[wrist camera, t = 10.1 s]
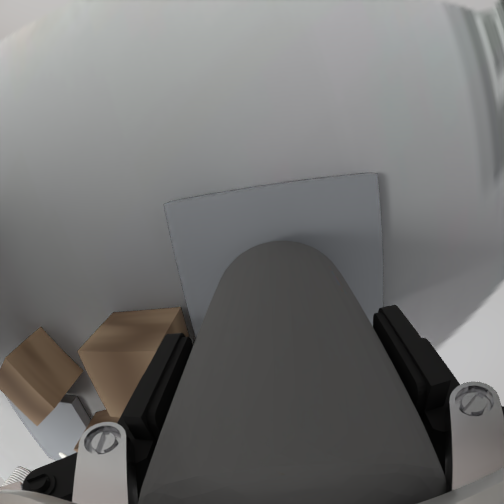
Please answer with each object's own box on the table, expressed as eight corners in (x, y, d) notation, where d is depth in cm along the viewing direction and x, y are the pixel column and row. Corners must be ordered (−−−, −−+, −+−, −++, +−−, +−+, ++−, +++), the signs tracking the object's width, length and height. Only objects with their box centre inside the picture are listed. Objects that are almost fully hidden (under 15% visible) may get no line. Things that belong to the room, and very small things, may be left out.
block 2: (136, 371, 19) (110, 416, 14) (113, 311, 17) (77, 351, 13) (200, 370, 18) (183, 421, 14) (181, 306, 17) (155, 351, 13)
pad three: (210, 367, 18) (207, 378, 17) (170, 201, 15) (163, 204, 14) (376, 346, 17) (381, 357, 16) (370, 172, 14) (377, 173, 13)
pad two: (52, 452, 24) (48, 458, 23) (7, 384, 21) (1, 390, 20) (124, 469, 23) (120, 477, 22) (76, 396, 20) (70, 404, 19)
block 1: (63, 392, 20) (37, 426, 16) (25, 353, 19) (-6, 382, 15) (84, 370, 19) (54, 408, 15) (41, 326, 18) (5, 357, 14)
